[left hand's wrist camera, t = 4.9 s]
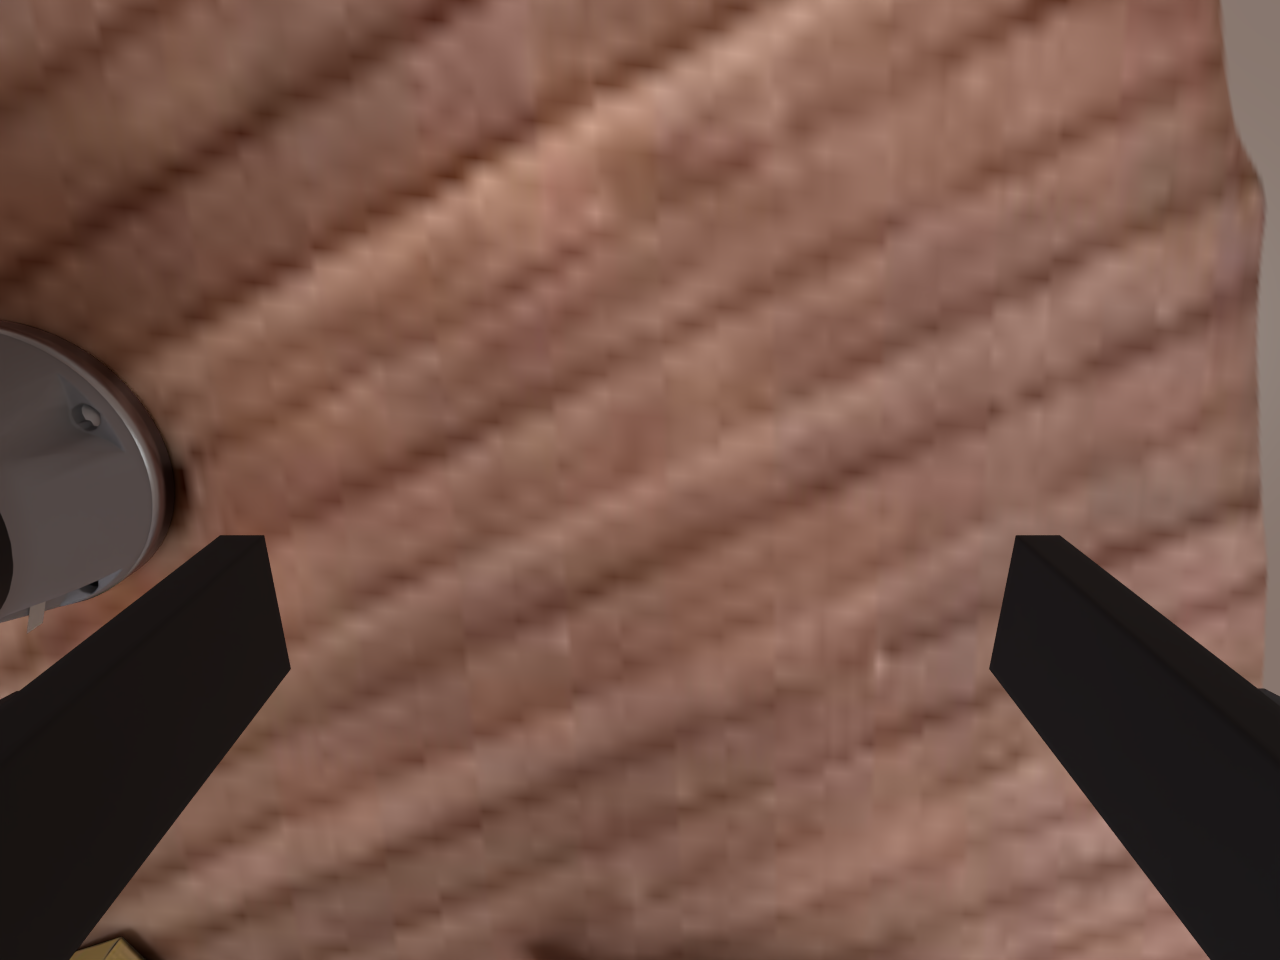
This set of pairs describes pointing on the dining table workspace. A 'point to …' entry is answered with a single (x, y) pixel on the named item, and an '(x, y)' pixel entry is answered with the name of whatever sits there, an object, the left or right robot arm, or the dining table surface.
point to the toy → (109, 951)
